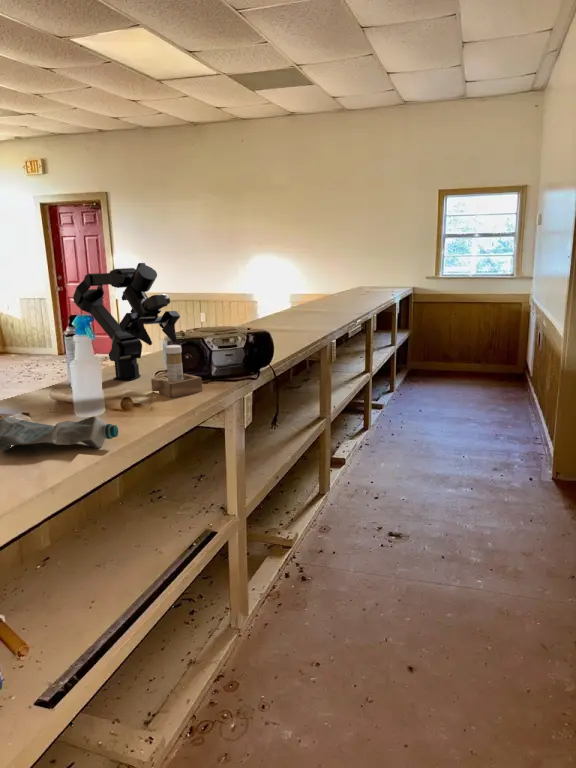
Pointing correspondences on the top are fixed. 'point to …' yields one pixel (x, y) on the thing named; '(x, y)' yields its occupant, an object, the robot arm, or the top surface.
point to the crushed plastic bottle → (55, 432)
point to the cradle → (178, 386)
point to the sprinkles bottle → (174, 363)
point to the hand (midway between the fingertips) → (163, 343)
